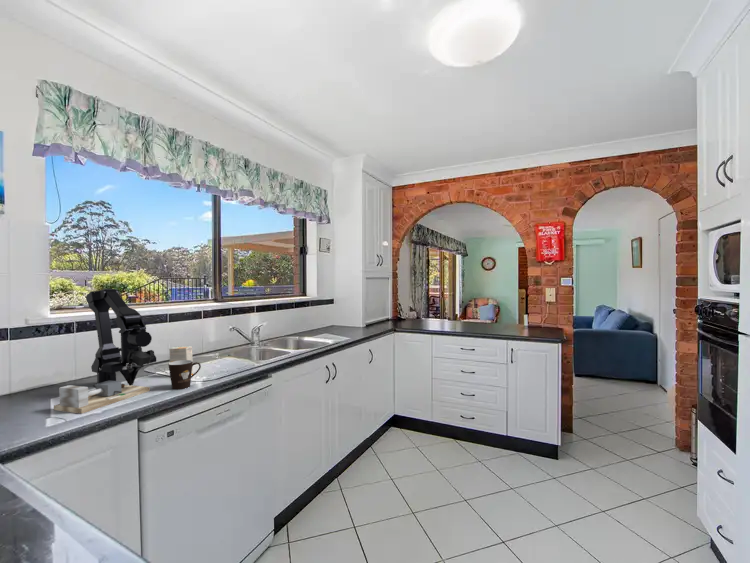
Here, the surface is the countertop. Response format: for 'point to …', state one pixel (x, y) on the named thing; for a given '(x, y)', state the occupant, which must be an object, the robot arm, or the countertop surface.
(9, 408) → the countertop surface
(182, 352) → the supplement box
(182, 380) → the coffee mug
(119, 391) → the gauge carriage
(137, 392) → the bench
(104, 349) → the robot arm
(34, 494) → the countertop surface
